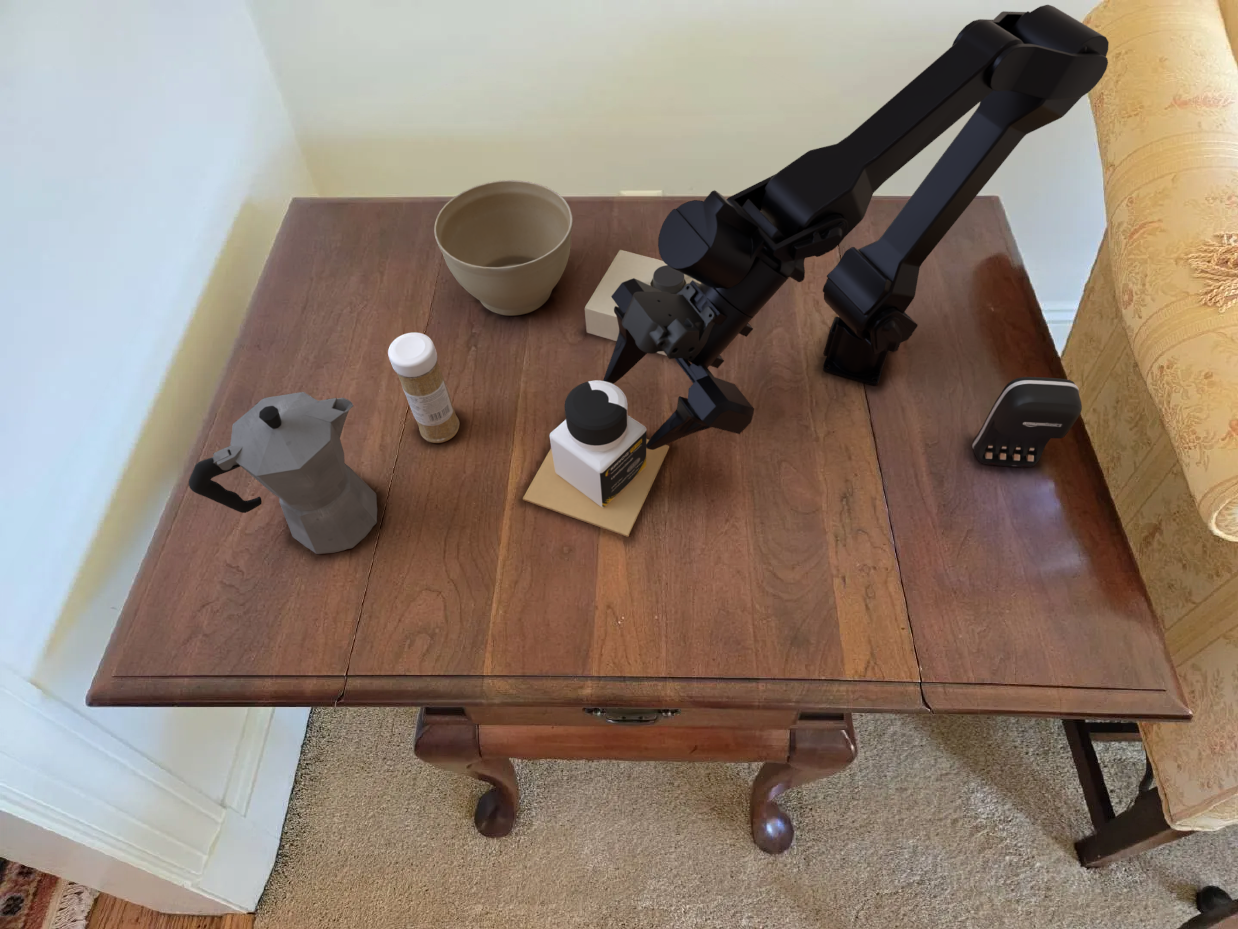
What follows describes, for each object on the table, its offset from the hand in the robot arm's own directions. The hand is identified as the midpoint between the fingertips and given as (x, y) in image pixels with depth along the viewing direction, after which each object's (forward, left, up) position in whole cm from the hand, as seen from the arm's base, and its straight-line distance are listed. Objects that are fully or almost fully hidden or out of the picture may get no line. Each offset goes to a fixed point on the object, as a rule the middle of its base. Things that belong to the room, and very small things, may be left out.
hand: (627, 415), depth 78 cm
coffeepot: (+26, +19, -8) cm, 34 cm away
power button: (+3, -21, -2) cm, 22 cm away
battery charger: (-38, -15, -8) cm, 41 cm away
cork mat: (+2, +3, -8) cm, 9 cm away
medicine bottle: (+2, +3, -8) cm, 8 cm away
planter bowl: (+23, -19, -8) cm, 31 cm away
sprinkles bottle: (+21, +4, -8) cm, 23 cm away
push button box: (+5, -21, -8) cm, 23 cm away
